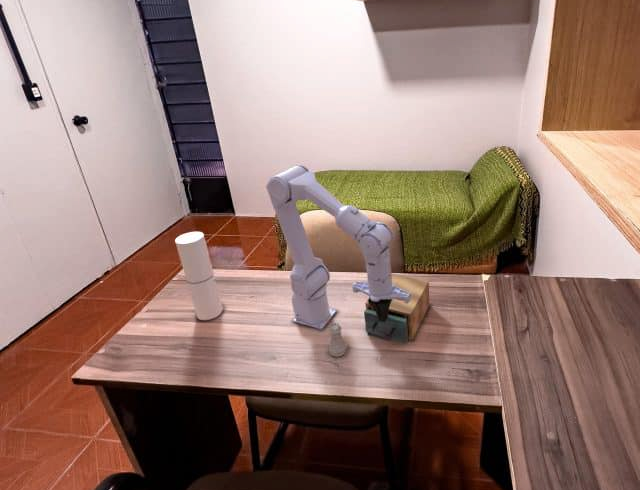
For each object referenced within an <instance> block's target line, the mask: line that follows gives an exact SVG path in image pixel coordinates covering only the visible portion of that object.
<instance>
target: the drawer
mask: <svg viewBox="0 0 640 490" xmlns="http://www.w3.org/2000/svg"><path fill="white" fill-rule="evenodd" d="M363 315H364V324H365V332H366V334H367V335H366V336H368V337H371V338H376V339H379V340H383V341H387V342H391V341H392V340H393V341H397V342H401V343H405V344H407V343H408V341H409V339H408V333H409V325H408V316H407V315H403V314H399V313H394V312H390V311H388V317H387V319H386V321H385V322H381V321H379V318H378V316H377V314H376V312H375V310H374V309H373V308H372V307H371V310H368V309H366V308H365V310H364V311H363Z"/></svg>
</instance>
